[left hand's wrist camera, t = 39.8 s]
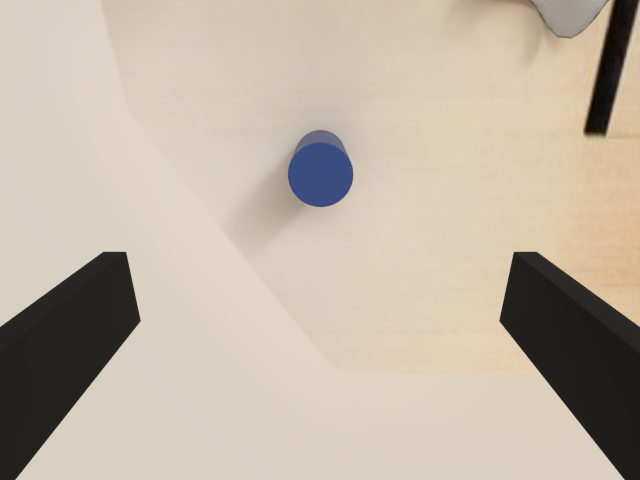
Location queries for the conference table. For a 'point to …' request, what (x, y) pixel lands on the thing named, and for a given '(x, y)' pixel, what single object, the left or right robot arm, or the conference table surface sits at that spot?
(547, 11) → the fish
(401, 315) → the conference table surface
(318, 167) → the canister
